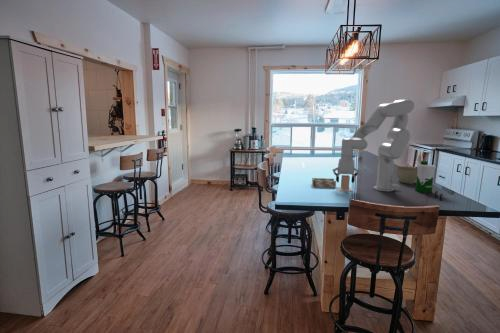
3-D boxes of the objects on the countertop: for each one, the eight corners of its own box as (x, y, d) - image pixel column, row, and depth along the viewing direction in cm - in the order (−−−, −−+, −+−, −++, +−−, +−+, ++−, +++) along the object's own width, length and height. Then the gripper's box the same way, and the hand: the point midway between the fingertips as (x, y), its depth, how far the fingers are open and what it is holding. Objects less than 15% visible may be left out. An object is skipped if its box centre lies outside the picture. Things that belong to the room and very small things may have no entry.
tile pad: (349, 188, 201) (349, 187, 200) (353, 191, 192) (353, 190, 192) (336, 187, 201) (336, 186, 201) (339, 191, 193) (339, 190, 193)
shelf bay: (333, 184, 210) (333, 178, 209) (335, 187, 202) (336, 181, 201) (312, 183, 211) (312, 177, 211) (313, 186, 203) (313, 180, 202)
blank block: (347, 188, 198) (348, 175, 197) (348, 189, 194) (349, 176, 192) (340, 187, 199) (341, 174, 197) (341, 189, 195) (342, 176, 193)
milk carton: (423, 189, 200) (426, 160, 196) (434, 192, 192) (438, 162, 188) (412, 190, 198) (416, 161, 194) (423, 193, 189) (427, 163, 186)
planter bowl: (418, 186, 209) (419, 171, 207) (393, 182, 218) (394, 168, 216) (419, 181, 222) (421, 167, 220) (396, 179, 231) (397, 165, 229)
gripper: (358, 156, 195) (356, 181, 199) (332, 155, 197) (330, 180, 200) (361, 158, 188) (359, 184, 191) (334, 157, 190) (332, 183, 193)
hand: (345, 182), depth 196 cm, fingers open, 9 cm apart
